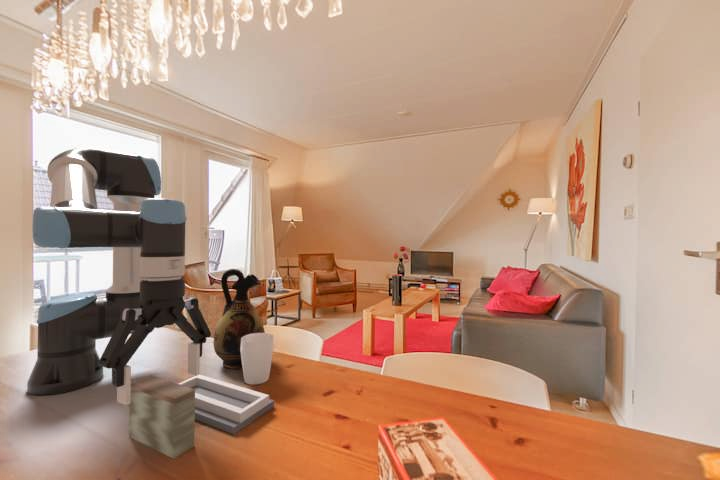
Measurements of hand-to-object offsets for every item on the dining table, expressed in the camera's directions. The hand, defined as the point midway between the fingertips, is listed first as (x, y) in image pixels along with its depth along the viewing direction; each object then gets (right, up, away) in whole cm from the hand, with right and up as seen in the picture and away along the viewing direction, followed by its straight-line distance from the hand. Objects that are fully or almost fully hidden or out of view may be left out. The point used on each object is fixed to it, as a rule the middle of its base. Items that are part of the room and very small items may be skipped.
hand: (162, 387), depth 62 cm
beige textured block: (0, -11, 0) cm, 11 cm away
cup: (+9, -11, +28) cm, 31 cm away
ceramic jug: (-1, -11, +39) cm, 41 cm away
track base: (+5, -11, +13) cm, 18 cm away
